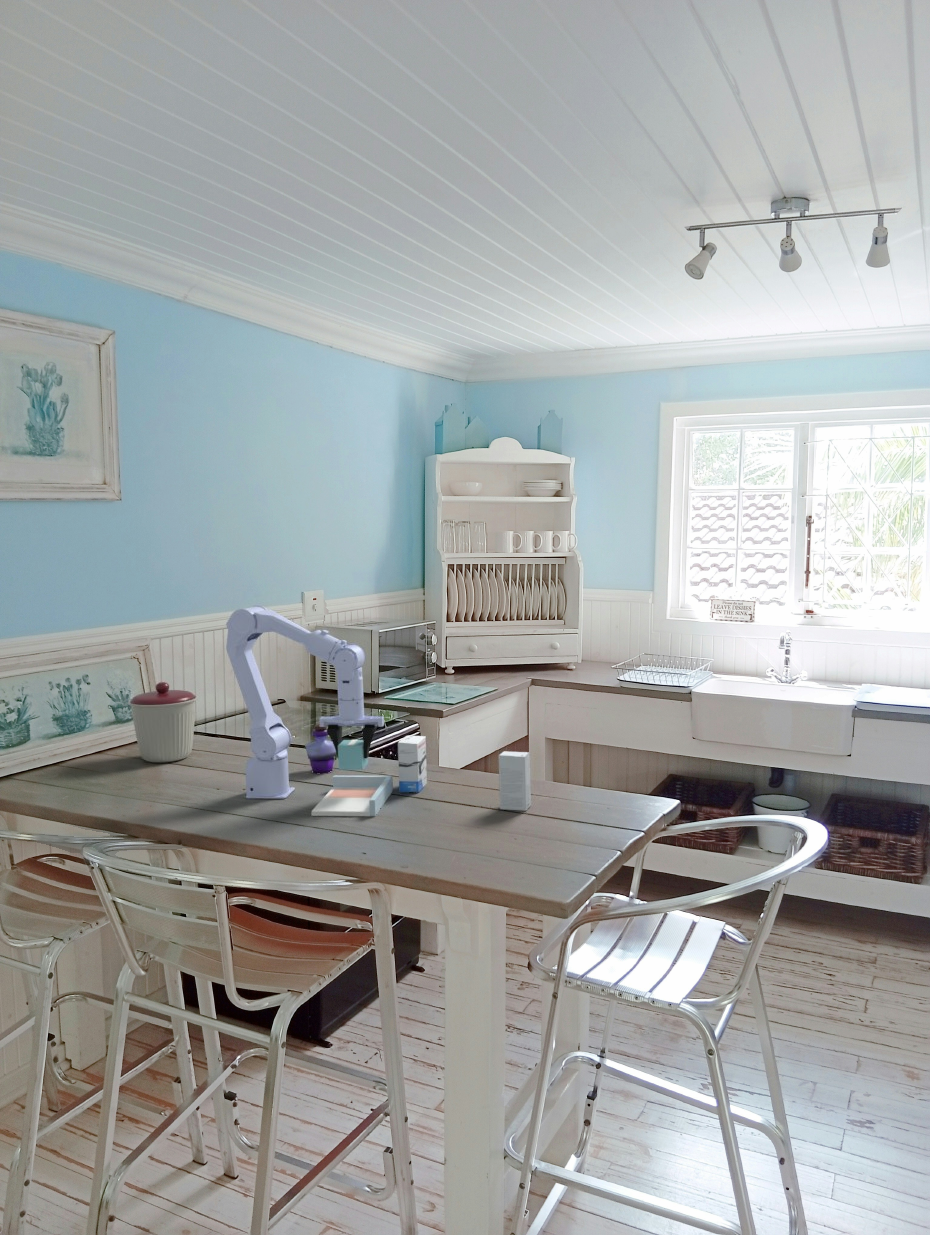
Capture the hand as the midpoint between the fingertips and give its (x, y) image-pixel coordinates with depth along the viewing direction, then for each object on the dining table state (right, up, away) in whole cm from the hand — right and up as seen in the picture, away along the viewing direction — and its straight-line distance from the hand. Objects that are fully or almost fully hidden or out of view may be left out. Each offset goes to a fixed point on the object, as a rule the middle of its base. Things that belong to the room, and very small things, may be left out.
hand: (353, 757), depth 220 cm
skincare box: (+36, -10, -10) cm, 39 cm away
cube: (0, -2, 0) cm, 2 cm away
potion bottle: (-11, -7, +26) cm, 29 cm away
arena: (+1, -10, -2) cm, 10 cm away
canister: (-56, -7, +44) cm, 71 cm away
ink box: (+13, -9, +8) cm, 18 cm away
